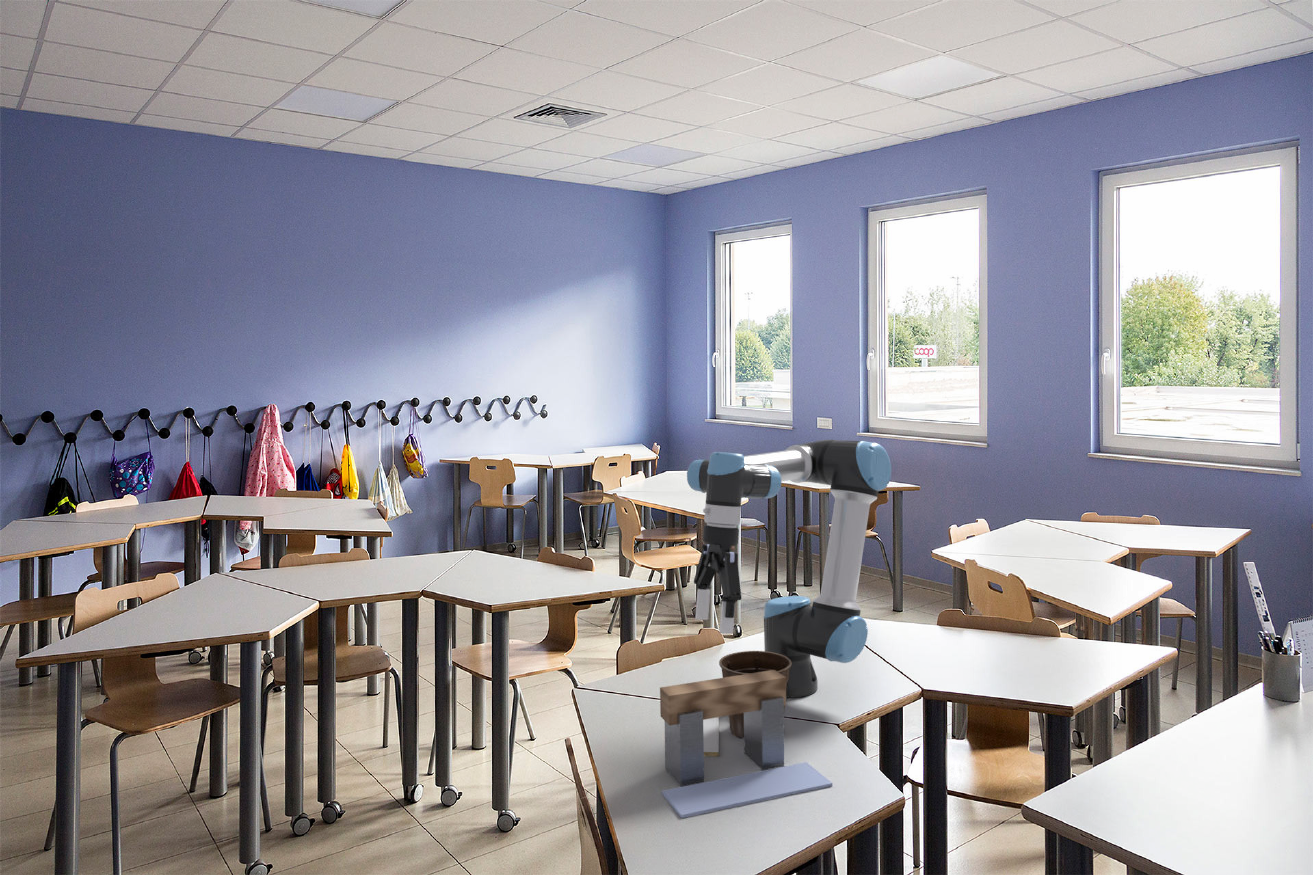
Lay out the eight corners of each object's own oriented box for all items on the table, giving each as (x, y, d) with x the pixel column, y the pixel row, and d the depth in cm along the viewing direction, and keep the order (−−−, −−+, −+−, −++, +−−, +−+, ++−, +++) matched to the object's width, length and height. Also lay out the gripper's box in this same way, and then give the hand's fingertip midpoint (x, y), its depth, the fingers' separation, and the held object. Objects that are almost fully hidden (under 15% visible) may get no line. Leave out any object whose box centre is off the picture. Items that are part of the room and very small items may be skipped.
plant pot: (710, 721, 205) (709, 654, 203) (774, 712, 209) (774, 646, 208) (735, 750, 189) (734, 677, 188) (804, 740, 193) (803, 668, 192)
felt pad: (806, 764, 182) (806, 761, 182) (832, 785, 172) (832, 782, 172) (661, 793, 170) (661, 790, 170) (681, 817, 161) (681, 814, 161)
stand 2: (765, 749, 189) (764, 683, 188) (784, 766, 181) (783, 697, 180) (744, 753, 187) (743, 687, 186) (762, 770, 179) (761, 701, 178)
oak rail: (774, 697, 187) (774, 669, 187) (786, 705, 182) (785, 677, 182) (660, 716, 178) (659, 687, 178) (669, 725, 173) (668, 695, 173)
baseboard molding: (662, 758, 187) (718, 759, 187) (662, 745, 187) (718, 745, 186) (670, 702, 218) (718, 703, 217) (670, 691, 218) (718, 691, 217)
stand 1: (687, 764, 183) (686, 696, 182) (704, 781, 175) (703, 711, 174) (665, 768, 181) (664, 700, 180) (680, 786, 173) (679, 715, 172)
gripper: (684, 518, 196) (676, 613, 196) (728, 531, 172) (719, 639, 172) (715, 520, 198) (707, 614, 198) (763, 532, 175) (754, 639, 174)
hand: (713, 626), depth 185 cm, fingers open, 13 cm apart
